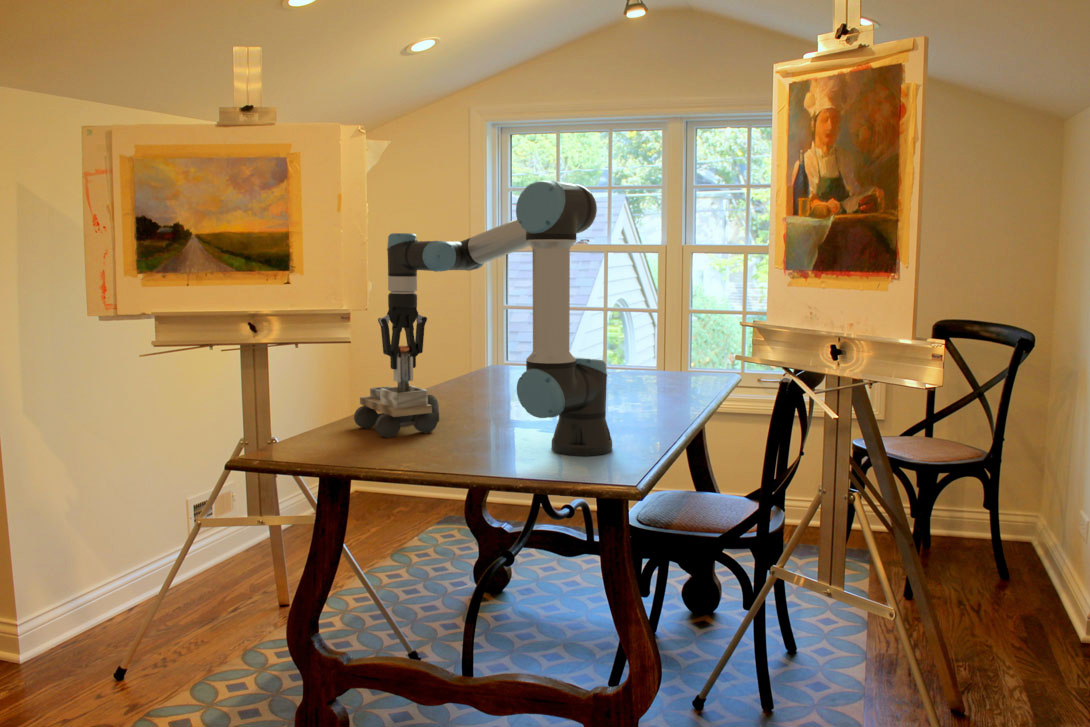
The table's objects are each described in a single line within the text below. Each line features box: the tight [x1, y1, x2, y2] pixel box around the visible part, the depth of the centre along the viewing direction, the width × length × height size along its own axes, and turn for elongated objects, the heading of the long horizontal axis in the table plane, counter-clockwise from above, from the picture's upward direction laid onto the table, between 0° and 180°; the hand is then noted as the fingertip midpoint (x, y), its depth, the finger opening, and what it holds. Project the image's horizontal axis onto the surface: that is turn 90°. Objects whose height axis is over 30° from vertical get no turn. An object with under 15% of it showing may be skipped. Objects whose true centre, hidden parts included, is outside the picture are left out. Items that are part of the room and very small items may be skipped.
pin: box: [397, 345, 410, 393], centre depth 233 cm, size 4×4×13 cm
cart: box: [353, 385, 438, 439], centre depth 239 cm, size 22×17×12 cm
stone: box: [411, 394, 440, 422], centre depth 254 cm, size 10×8×10 cm
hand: (403, 380), depth 233 cm, fingers closed on pin, 3 cm apart
